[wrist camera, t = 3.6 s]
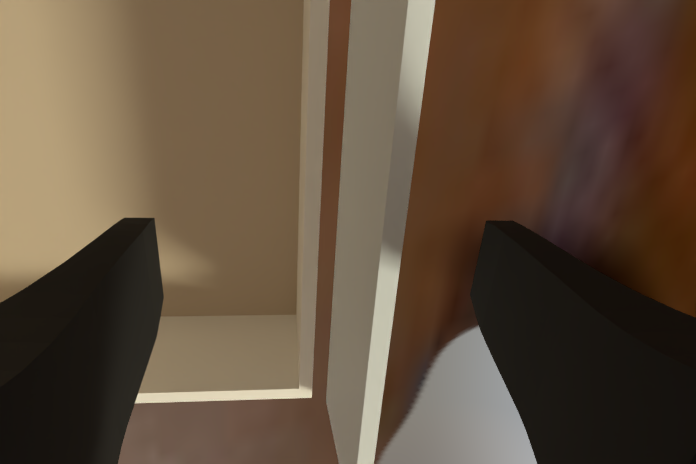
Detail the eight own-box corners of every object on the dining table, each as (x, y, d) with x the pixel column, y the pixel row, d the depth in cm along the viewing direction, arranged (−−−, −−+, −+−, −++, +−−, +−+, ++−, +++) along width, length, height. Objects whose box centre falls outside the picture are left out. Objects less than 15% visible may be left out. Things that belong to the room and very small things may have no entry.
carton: (306, 316, 26) (311, 397, 22) (-117, 322, 24) (-202, 413, 20) (326, -232, 16) (341, -276, 12) (-395, -305, 14) (-684, -390, 10)
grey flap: (326, 401, 22) (338, 399, 22) (350, 521, 18) (366, 519, 18) (368, -276, 12) (391, -273, 12) (448, -365, 8) (483, -359, 8)
